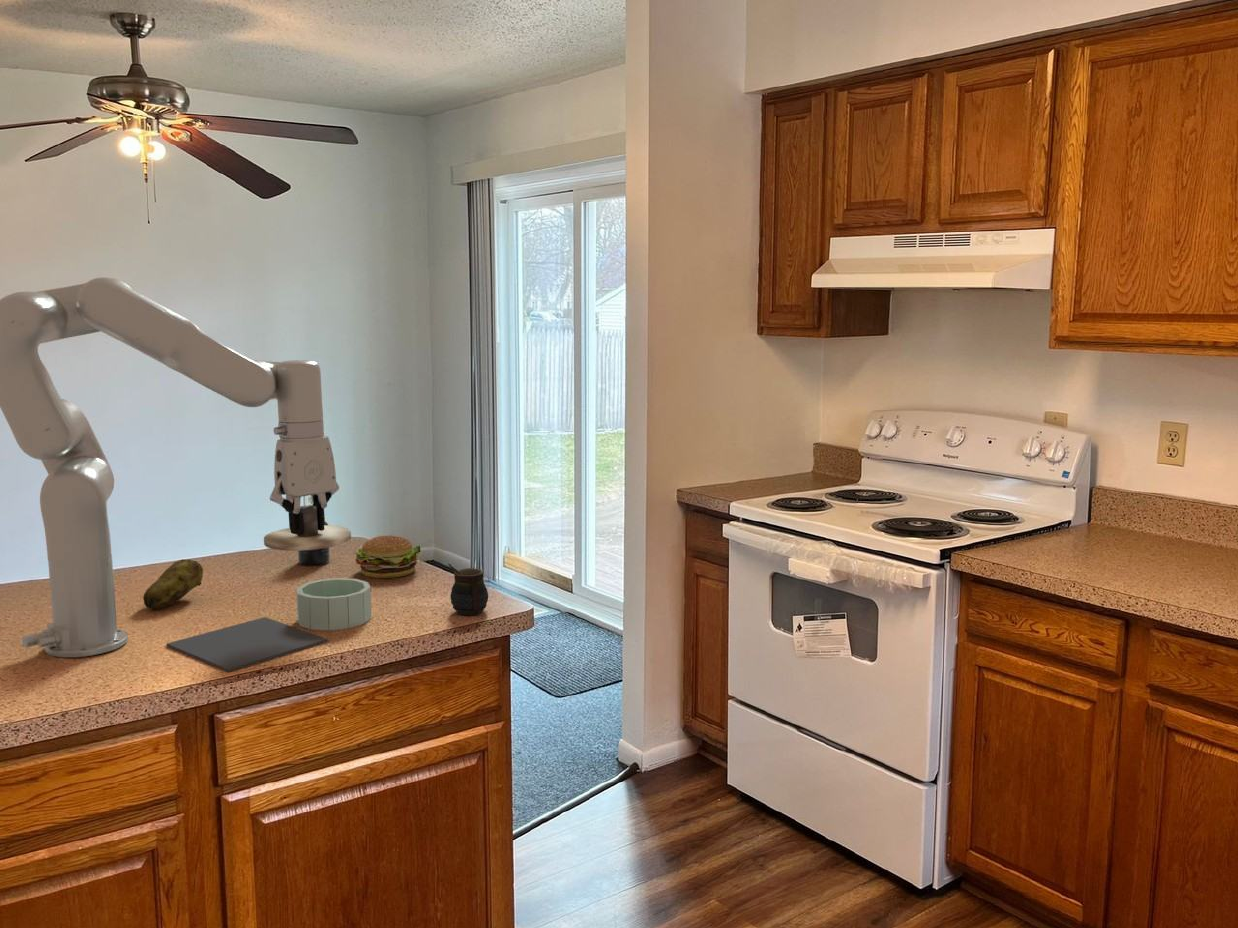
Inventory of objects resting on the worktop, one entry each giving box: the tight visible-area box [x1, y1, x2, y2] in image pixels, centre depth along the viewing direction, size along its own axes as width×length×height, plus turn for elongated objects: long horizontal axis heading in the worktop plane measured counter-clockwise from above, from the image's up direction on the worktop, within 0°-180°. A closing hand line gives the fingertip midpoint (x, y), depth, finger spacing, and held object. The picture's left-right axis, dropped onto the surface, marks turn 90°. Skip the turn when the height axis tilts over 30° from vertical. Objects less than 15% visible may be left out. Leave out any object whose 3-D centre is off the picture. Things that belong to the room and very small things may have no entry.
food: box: [353, 534, 421, 579], centre depth 221 cm, size 14×14×8 cm
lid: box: [263, 505, 352, 552], centre depth 182 cm, size 15×15×6 cm
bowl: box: [295, 577, 372, 631], centre depth 189 cm, size 13×13×6 cm
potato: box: [142, 559, 204, 611], centre depth 197 cm, size 8×13×8 cm, turn 141°
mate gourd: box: [447, 563, 489, 616], centre depth 194 cm, size 7×8×10 cm
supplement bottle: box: [297, 521, 331, 567], centre depth 228 cm, size 7×7×12 cm
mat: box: [166, 616, 329, 673], centre depth 176 cm, size 19×19×1 cm
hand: (307, 530), depth 182 cm, fingers closed on lid, 3 cm apart
